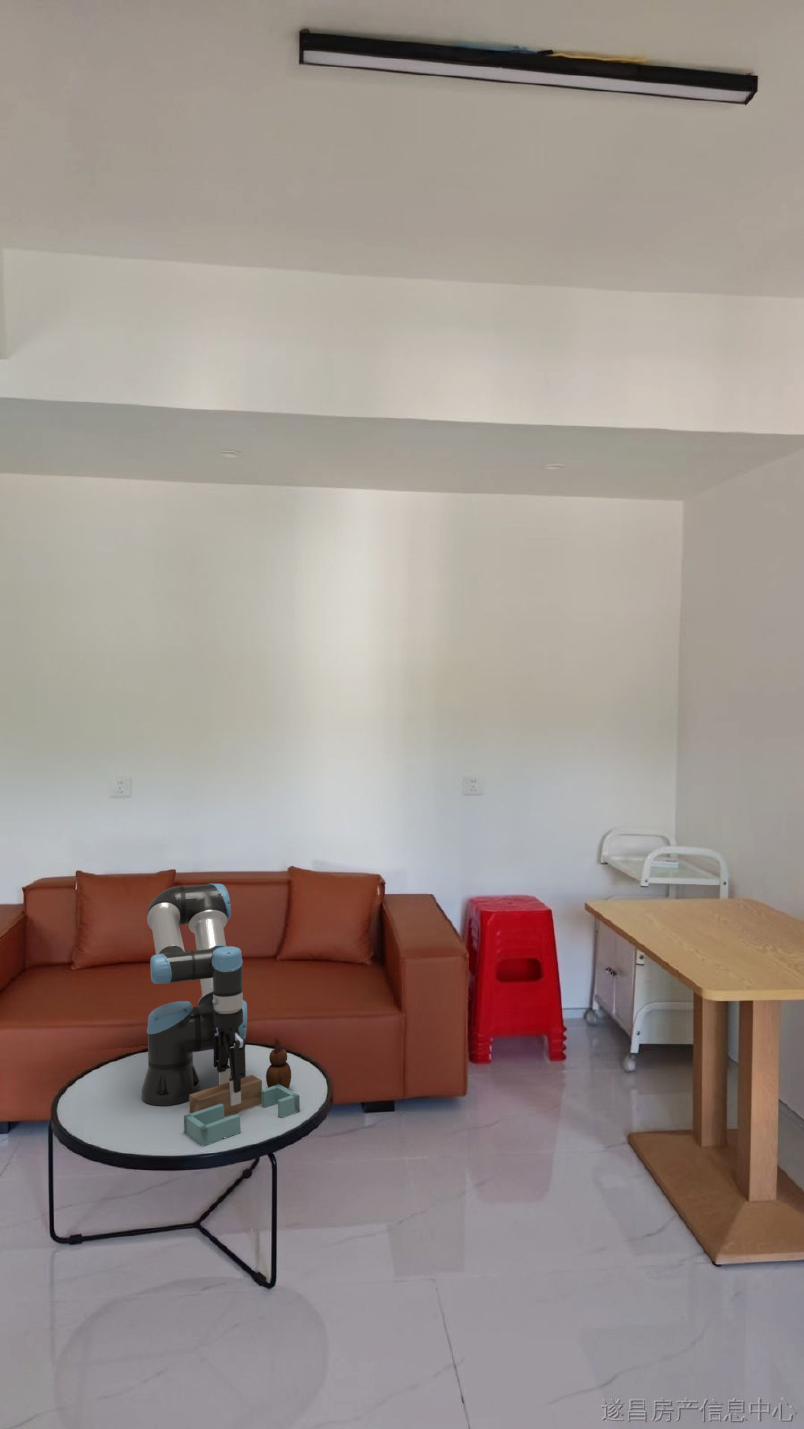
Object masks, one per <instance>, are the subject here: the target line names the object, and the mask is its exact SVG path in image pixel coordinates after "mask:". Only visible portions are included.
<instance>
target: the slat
mask: <svg viewBox="0 0 804 1429" xmlns="http://www.w3.org/2000/svg"><path fill="white" fill-rule="evenodd" d="M261 1090H263V1080H262V1079H260V1078H258V1077H257V1076H255V1075H253V1074H250V1075H247V1076H246V1077H244V1078H241V1103H239V1104H236V1105H233V1106H231V1105H230V1082H228V1083H225V1084H221V1085H219V1084H218V1085H215V1086H213V1087H212V1086H211V1087H209V1088H206V1089H202V1090H200V1091H199V1092H196V1093H193V1094H190V1095H189V1100H188V1101H189V1114H191V1113H194V1112H197V1111H200V1110H203V1109H206V1108H209V1107H212V1106H215V1105H218V1104H223V1105H224V1118H226V1117H229V1116H232V1115H234V1114H237V1113H238V1112H241V1111H242V1112H243V1111H245V1110H247V1109H250V1108H254V1107H256V1106H259V1105H261Z"/></svg>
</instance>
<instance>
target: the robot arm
mask: <svg viewBox="0 0 804 1429" xmlns="http://www.w3.org/2000/svg"><path fill="white" fill-rule="evenodd" d="M230 899H231V898H230V895H229V892H228V889H227V887H226V885H224V884H222V883H207V884H197V885H195V884H194V885H181V886H179V885H178V886H173V887H168V888H167V889H164V890H162V891H161V892H160V893H159V894H157V896H155V897H154V898H153V899H152V900H151V902H150V903H149V905H148V908H147V909H146V910H147V912H146V922H147V923H146V924H147V925H148V927H149V929H151V931H152V938H153V944H154V949H155V950H154V952H155V954H153V955H152V956H151V958H150V961H149V962H150V966H149V967H150V968H149V969H150V980H151V982H152V983H153V984H155V985H158V984H159V985H162V984H165V985H167V984H172V983H173V984H174V983H180V982H188V981H198V980H200V987H201V989H200V990H201V997H200V998H199V1000H198V1001H197V1006H194V1005H192V1002H190V1001H188V1000H183V1001H182V1000H178V1001H177V1000H176V1001H171V1002H169V1003H165V1004H163V1005H159V1006H158V1007H156V1008H154V1009H153V1010H151V1012H150V1013H149V1015H148V1017H147V1029H146V1033H147V1061H148V1062H147V1066H148V1067H147V1071H146V1074H145V1077H144V1081H143V1084H142V1088H141V1099H142V1101H143V1102H145V1103H146V1104H148V1105H153V1106H160V1107H161V1106H162V1107H163V1106H172V1105H178V1104H183V1103H185V1102H188V1101H189V1095H190V1094H193V1093H196V1092H199V1091H201V1081H200V1078H199V1076H198V1072H197V1070H196V1066H195V1064H194V1055H193V1054H194V1053H197V1052H203V1051H206V1052H207V1051H210V1050H213V1067H214V1068H216V1070H217V1073H218V1085H221V1084H225V1083H228V1082H230V1105H231V1106H233V1105H236V1104H239V1103H241V1078H244V1077H247V1076H246V1075H247V1072H246V1045H247V1040H246V1039H247V1038H246V1036H247V1026H248V1003H247V1000H244V993H243V963H244V962H243V958H242V957H243V956H242V950H241V948H239V947H236V946H232V945H231V946H230V945H229V946H227V943H226V937H225V930H224V928H225V927H226V926H227V923H228V921H229V920H230V919H231V916H232V907H231V906H232V905H231V900H230ZM182 925H188V929H189V931H190V932H191V933H193V934H194V938H195V946H196V947H195V948H196V950H190V951H189V950H188V951H185V947H184V946H185V945H184V941H183V938H182V937H183V936H182V932H181V928H180V926H182Z"/></svg>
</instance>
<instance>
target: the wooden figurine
mask: <svg viewBox="0 0 804 1429" xmlns="http://www.w3.org/2000/svg"><path fill="white" fill-rule="evenodd" d="M281 1043H282V1042H281V1041H280V1040H279V1037H275V1039H274V1049H272V1050H271V1051H270V1052H269V1063H270V1065H269V1067H268V1068H267V1069H266V1073H265V1082H266V1086H267V1088H269V1087H272V1086H275V1085H278V1084H280V1085H282V1086H283V1087H285V1088H287V1089H289V1088H290V1085H291V1081H292V1069H291V1066H290V1064H289V1062H287V1061H288V1053H287V1052H288V1051H287V1050H286V1049H285V1048H282V1044H281Z"/></svg>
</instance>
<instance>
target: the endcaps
mask: <svg viewBox="0 0 804 1429" xmlns="http://www.w3.org/2000/svg"><path fill="white" fill-rule="evenodd" d="M300 1100H301V1099H300V1095H299V1094H297V1093H296V1092H294V1091H293V1090H290V1089H289V1088H288V1089H287V1088H285V1087H283V1086H282V1085H280V1084H278V1085H275V1086H272V1087H269V1088H268V1087H267V1088H264V1089H263V1088H262V1090H261V1104H260V1105H261V1107H262V1108H264V1109H265V1108H267V1107H268V1108H269V1107H271V1106H273V1105H276V1104H277V1116H278V1118H280V1119H281V1118H282V1119H283V1118H284V1117H288V1116H291V1115H293V1113H294V1114H296V1113H298V1112H300V1111H301V1110H300V1109H301V1108H300V1106H301V1105H300ZM295 1112H296V1113H295ZM290 1114H291V1115H290ZM183 1132H184V1133H185V1134H186V1135H187V1136H189V1137H190V1138H191V1139H192V1140H194V1141H195V1142H196V1143H197V1144H199V1145H200V1146H202V1145H203V1146H202V1147H205V1146H207V1145H208V1146H209V1145H210V1143H211V1144H213V1142H214V1143H216V1142H218V1141H217V1140H219V1141H221V1140H220V1139H222V1138H224V1137H227V1138H230V1137H233V1136H236V1135H238V1134H240V1133H241V1132H242V1130H241V1115H239V1114H238V1113H235V1114H232V1115H229V1116H226V1117H224V1105H223V1104H218V1105H215V1106H212V1107H209V1108H206V1109H203V1110H200V1111H197V1112H194V1113H191V1114H190V1113H188V1114H185V1115H184V1116H183ZM237 1133H238V1134H237ZM235 1134H236V1135H235ZM232 1135H233V1136H232ZM222 1140H223V1139H222ZM215 1141H216V1142H215ZM204 1145H205V1146H204Z"/></svg>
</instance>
